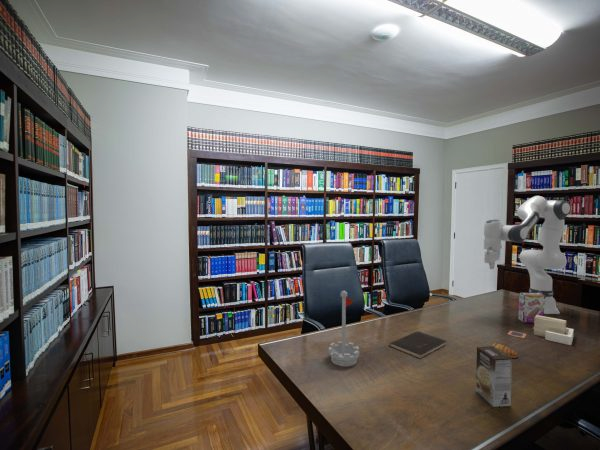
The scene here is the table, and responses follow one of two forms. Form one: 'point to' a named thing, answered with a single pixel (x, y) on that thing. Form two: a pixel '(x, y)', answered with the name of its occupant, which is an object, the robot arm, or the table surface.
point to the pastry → (505, 350)
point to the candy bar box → (530, 306)
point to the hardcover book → (418, 344)
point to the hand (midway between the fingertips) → (491, 268)
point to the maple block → (548, 325)
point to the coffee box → (494, 376)
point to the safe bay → (560, 336)
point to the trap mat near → (517, 334)
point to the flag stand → (344, 342)
